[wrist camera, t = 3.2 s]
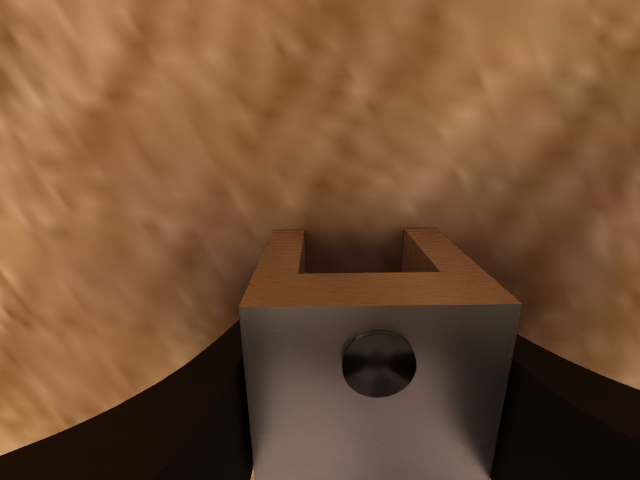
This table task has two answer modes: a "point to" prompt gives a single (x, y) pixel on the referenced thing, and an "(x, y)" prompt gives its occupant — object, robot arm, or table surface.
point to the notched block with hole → (376, 365)
